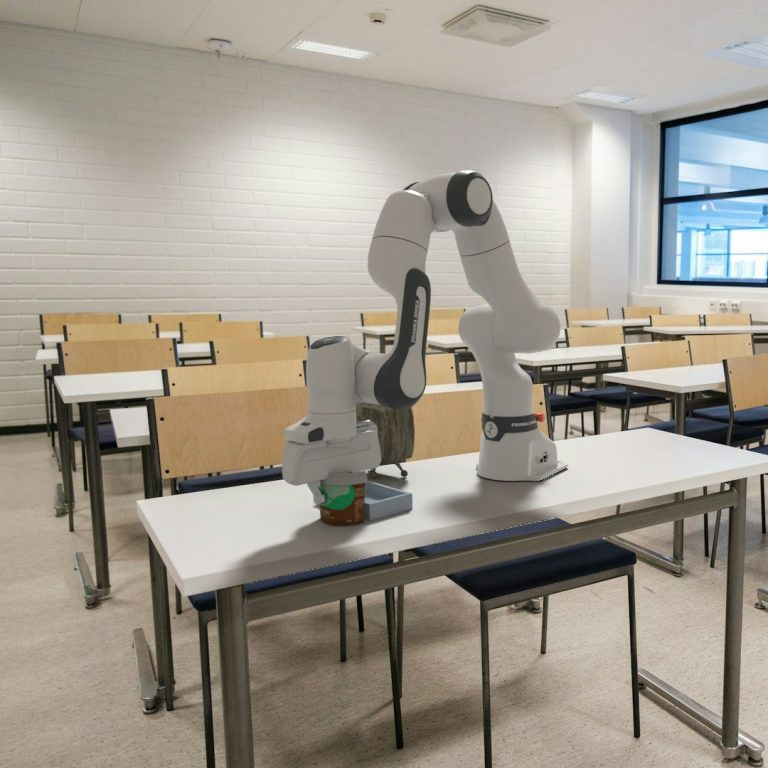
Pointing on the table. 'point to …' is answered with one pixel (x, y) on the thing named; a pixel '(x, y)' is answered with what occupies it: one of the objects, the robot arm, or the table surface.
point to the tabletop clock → (390, 432)
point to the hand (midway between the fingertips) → (335, 499)
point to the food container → (343, 498)
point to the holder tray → (384, 501)
